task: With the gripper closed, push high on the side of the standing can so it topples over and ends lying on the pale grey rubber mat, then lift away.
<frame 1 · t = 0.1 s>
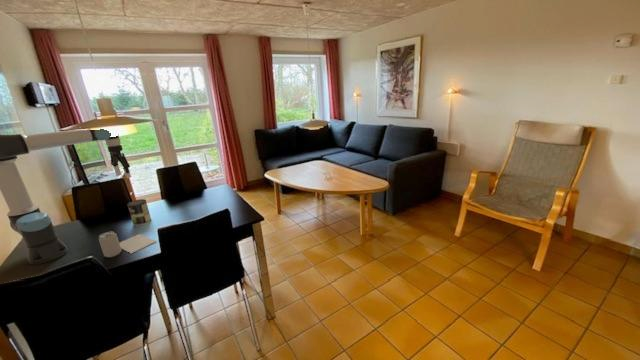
hand: (123, 176, 180), 28 cm above the table, tool pointing down, fingers open, 13 cm apart
can: (113, 254, 141), on the table
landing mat: (135, 243, 150), on the table
coffee can: (142, 222, 176), on the table
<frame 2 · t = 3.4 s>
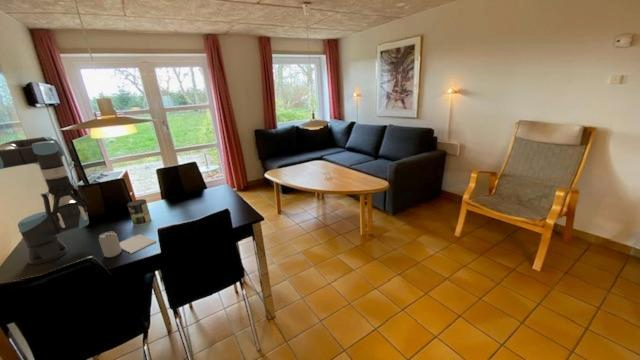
hand: (74, 222, 126), 23 cm above the table, tool pointing down, fingers open, 8 cm apart
nothing on the table moved.
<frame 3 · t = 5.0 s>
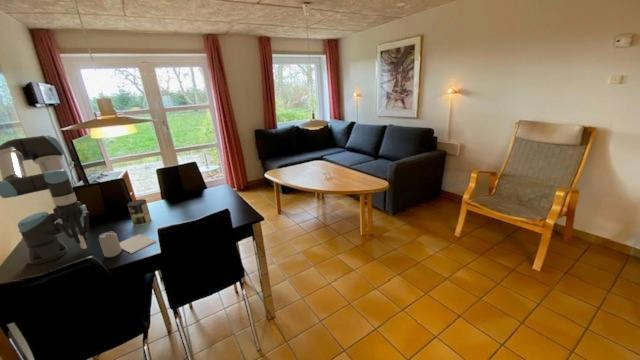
hand: (84, 247, 130), 10 cm above the table, tool pointing down, fingers closed
nothing on the table moved.
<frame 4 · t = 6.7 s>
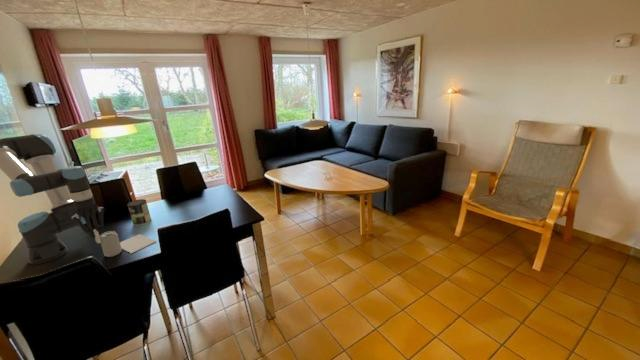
hand: (98, 242, 135), 10 cm above the table, tool pointing down, fingers closed
can: (113, 254, 141), on the table, touching gripper
everything else where it was.
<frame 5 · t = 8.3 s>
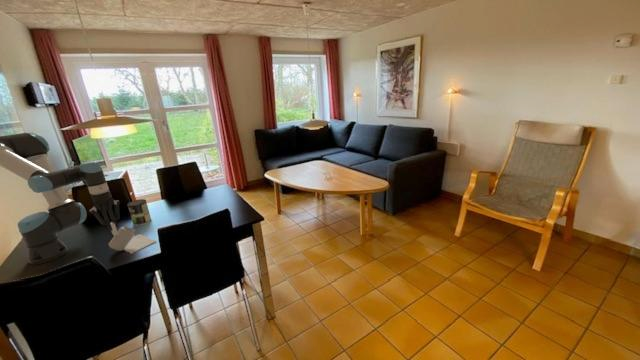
hand: (115, 234, 140), 10 cm above the table, tool pointing down, fingers closed
can: (114, 248, 141), point 3 cm above the table, touching gripper
everything else where it was.
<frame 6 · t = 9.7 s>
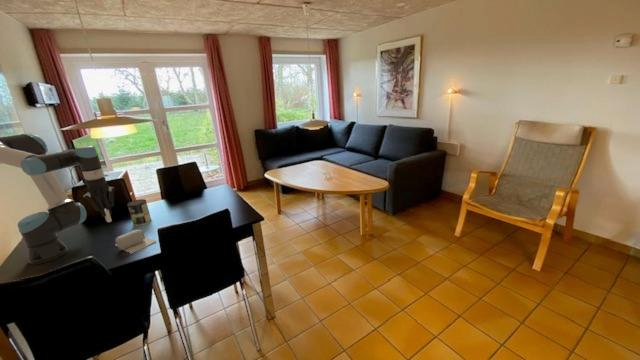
hand: (109, 221, 138), 18 cm above the table, tool pointing down, fingers closed
can: (117, 244, 142), point 4 cm above the table, touching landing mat
everything else where it was.
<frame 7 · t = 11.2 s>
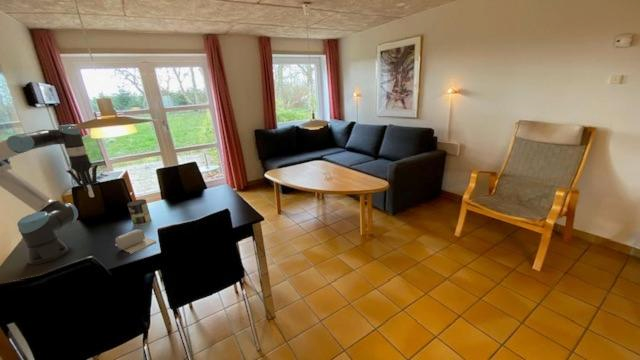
hand: (91, 196, 147), 27 cm above the table, tool pointing down, fingers closed
nothing on the table moved.
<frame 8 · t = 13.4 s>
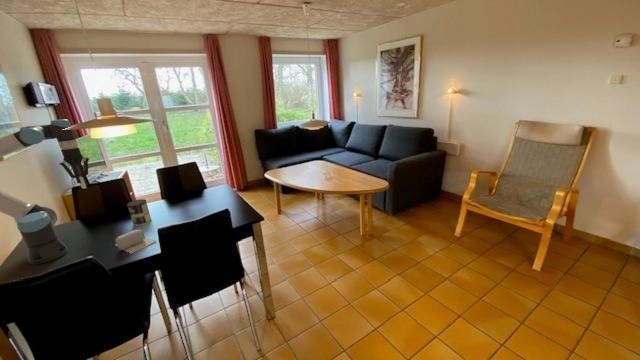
hand: (84, 187, 156), 29 cm above the table, tool pointing down, fingers closed
nothing on the table moved.
at the end: can tilted 90°; can touching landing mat; can inside the target area (6.2 cm from its centre), point 4.3 cm above the table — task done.
